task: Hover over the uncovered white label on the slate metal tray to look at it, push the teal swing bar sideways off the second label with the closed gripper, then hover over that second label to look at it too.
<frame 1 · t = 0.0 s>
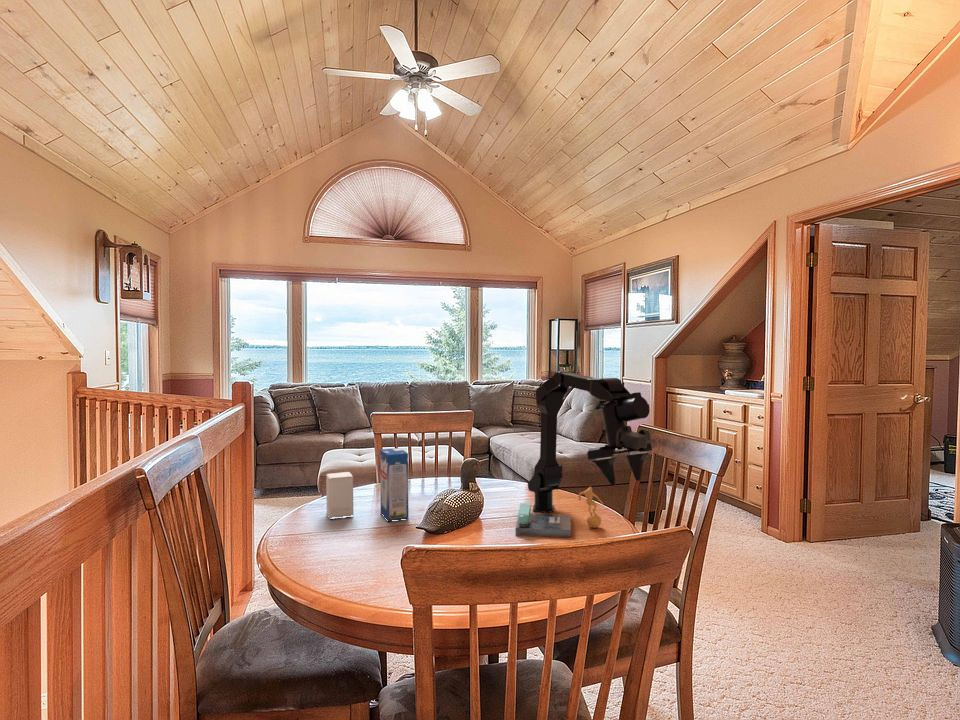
hand: (626, 483, 142), 15 cm above the table, tool pointing down, fingers open, 9 cm apart
milk carton: (394, 517, 165), on the table
swing bar: (524, 513, 154), point 4 cm above the table, hinge at 0.0°
server tray: (543, 527, 154), on the table
supplement box: (339, 516, 167), on the table
figurine: (592, 529, 153), on the table
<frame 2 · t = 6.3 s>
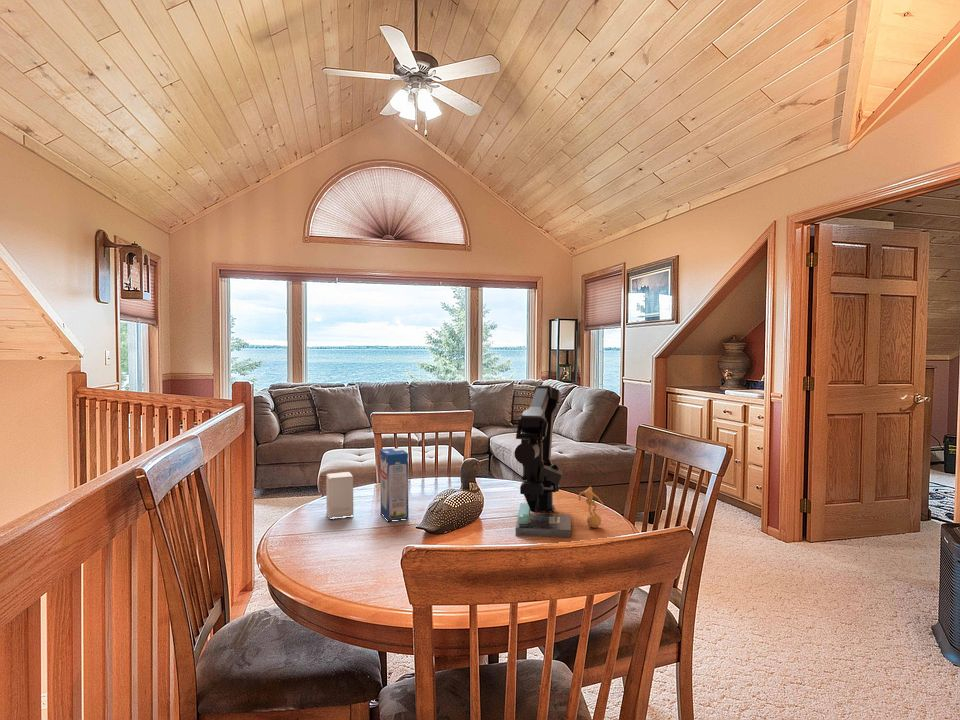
hand: (532, 511, 156), 4 cm above the table, tool pointing down, fingers closed, pressing on swing bar
swing bar: (524, 513, 154), point 4 cm above the table, hinge at 0.0°, touching gripper
everything else where it was.
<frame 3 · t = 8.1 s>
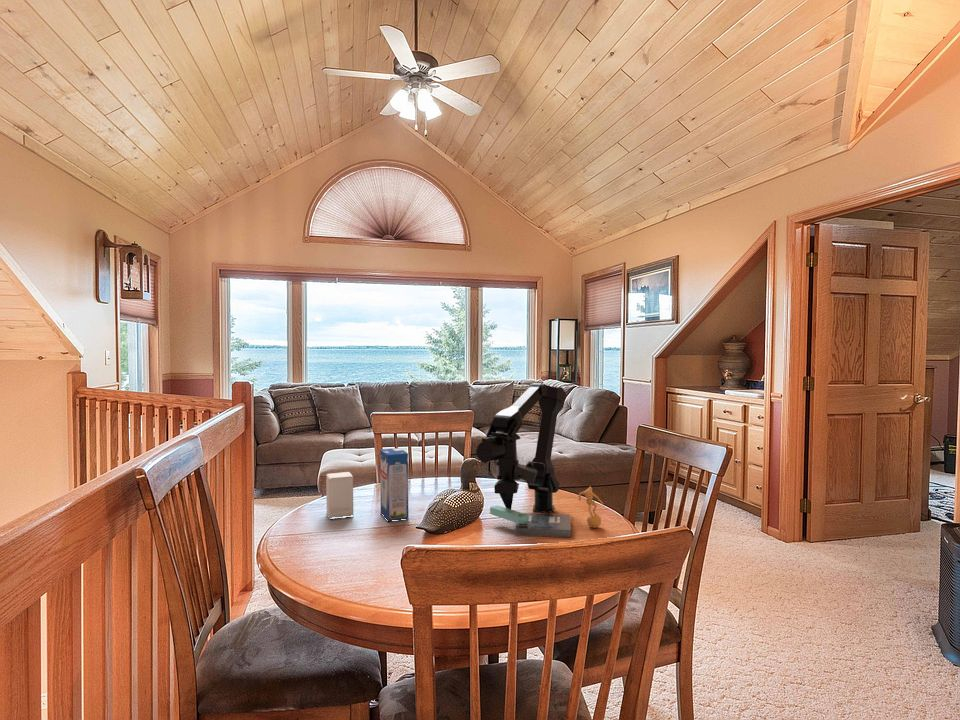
hand: (509, 510, 157), 4 cm above the table, tool pointing down, fingers closed
swing bar: (509, 514, 153), point 4 cm above the table, hinge at 48.7°, touching gripper
everything else where it was.
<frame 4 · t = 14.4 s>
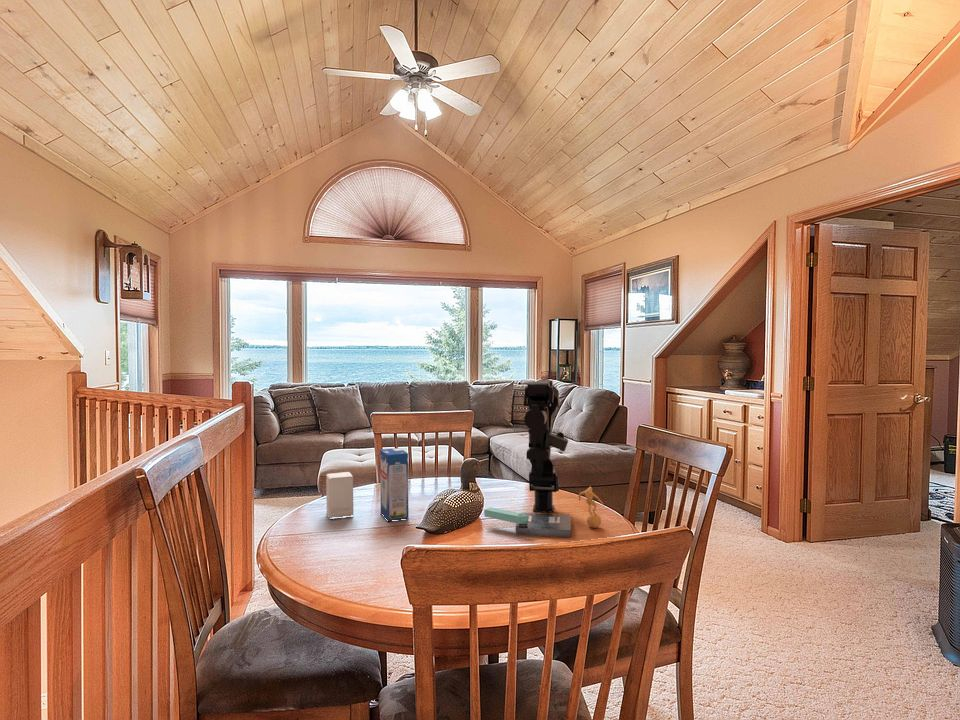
hand: (538, 478, 159), 13 cm above the table, tool pointing down, fingers closed
swing bar: (506, 515, 152), point 4 cm above the table, hinge at 62.7°
everything else where it was.
at the end: swing bar at +63° (first picture: +0°); figurine moved 0.2 cm from its start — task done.
